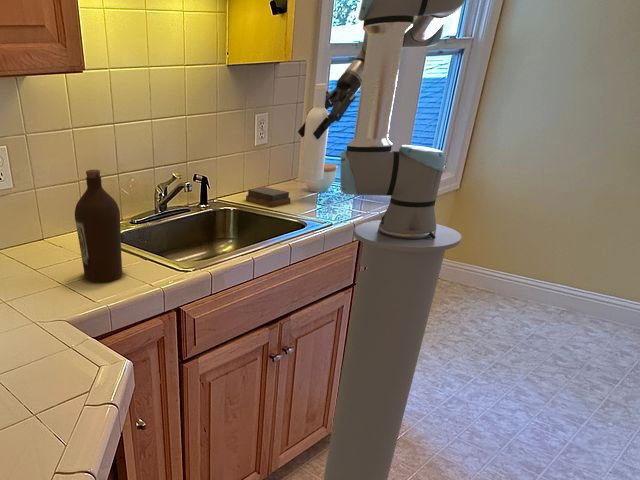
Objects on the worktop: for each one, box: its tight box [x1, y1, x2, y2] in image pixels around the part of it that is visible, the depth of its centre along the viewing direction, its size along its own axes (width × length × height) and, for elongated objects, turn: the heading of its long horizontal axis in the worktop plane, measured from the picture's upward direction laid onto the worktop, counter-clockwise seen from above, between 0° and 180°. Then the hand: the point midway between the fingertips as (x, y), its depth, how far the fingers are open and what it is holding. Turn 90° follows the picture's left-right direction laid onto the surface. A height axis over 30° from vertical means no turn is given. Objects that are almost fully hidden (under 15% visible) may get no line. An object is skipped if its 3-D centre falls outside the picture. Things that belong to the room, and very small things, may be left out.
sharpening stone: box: [245, 186, 292, 208], centre depth 184 cm, size 14×9×4 cm, turn 32°
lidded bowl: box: [303, 162, 339, 193], centre depth 197 cm, size 13×13×11 cm
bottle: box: [299, 83, 330, 181], centre depth 173 cm, size 8×8×30 cm
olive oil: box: [74, 169, 123, 283], centre depth 119 cm, size 11×11×25 cm
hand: (307, 135), depth 172 cm, fingers closed on bottle, 8 cm apart
